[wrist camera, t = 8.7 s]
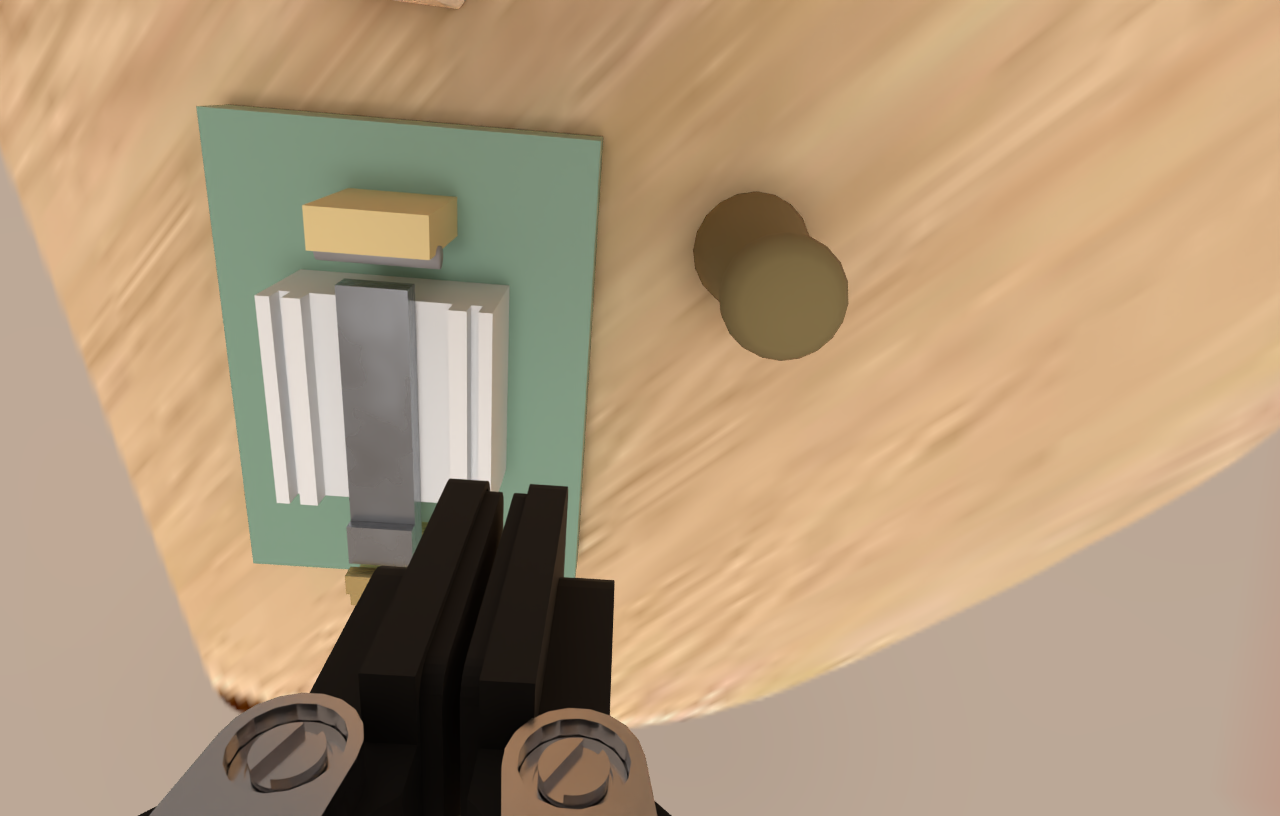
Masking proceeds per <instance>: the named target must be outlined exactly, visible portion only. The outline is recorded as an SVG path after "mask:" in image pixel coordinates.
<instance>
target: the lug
mask: <svg viewBox="0 0 1280 816" xmlns="http://www.w3.org/2000/svg"><path fill="white" fill-rule="evenodd" d="M427 524H428V522H422V535H423V533H424V530H425V528H426V526H427ZM379 566H382V565H366V564H361V565H360V567H350V568H349V570H348V572H347V574H346V575H345V583H346V594H350V597H351V605H356V604H357V602H358V601H359V599H360V597H361V595H362V593H363V591H364V589H365V587H366V585H367V584H368V582H369V580H370V578H371V576H372V574H373V573H374V571H375V570H376V568H377V567H379Z"/></svg>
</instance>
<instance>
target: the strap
mask: <svg viewBox="0 0 1280 816" xmlns="http://www.w3.org/2000/svg"><path fill="white" fill-rule="evenodd" d="M335 297H336V312H337V327H338V341H339V356H340V371H341V385H342V400H343V415H344V429H345V444H346V459H347V474H348V488H349V503H350V518H351V521H350V522H349V524H348V525H347V527H346V528H347V543H348V557H349V563H350V564H366V565H382V566H397V567H408V565H409V563H410V561H411V558H412V556H413V554H414V552H415V550H416V548H417V546H418V543H419V541H420V539H421V537H422V521H421V486H420V451H419V416H418V381H417V345H416V310H415V284H411V283H398V282H386V281H373V280H360V279H347V278H344V279H343V280H341V281H340V282H338V283H337V284H335Z"/></svg>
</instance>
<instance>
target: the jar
mask: <svg viewBox="0 0 1280 816" xmlns="http://www.w3.org/2000/svg"><path fill="white" fill-rule="evenodd" d="M394 1H401V2H409V3H416V4H423V5H431V6H438V7H445V8H452V9H458V8H460V7H461V6H462V4H463V3H464V1H465V0H394Z"/></svg>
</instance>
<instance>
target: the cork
mask: <svg viewBox="0 0 1280 816" xmlns="http://www.w3.org/2000/svg"><path fill="white" fill-rule="evenodd" d="M693 252H694V262H695V269H696V271H697V273H698V276H699V278H700V280H701V282H702V284H703V285H704V287H705V288H706V289H707V290H708V291H709V292H710V293H711V294H712V295H713V296H714V297H715V298H716V299H717V300H718V301H719V302H720V310H721V315H722V318H723V320H724V322H725V324H726V326H727V329H728V331H729V333H730V334H731V336H732V337H733V338H734V339H735V340H736V341H737V342H738V343H739V344H740V345H741V346H742V347H743V348H745V349H747V350H749V351H751V352H752V353H754V354H756V355H758V356H760V357H762V358H768V359H773V360H779V361H783V360H791V359H799V358H802V357H804V356H806V355H809V354H811V353H813V352H815V351H817V350H819V349H820V348H821V347H822V346H823V345H825V344H826V343H827V342H828V341H829V340H831V339H832V338H833V336H834V335H835V333H836V332H837V330H838V329H839V327H840V326H841V324H842V323H843V320H844V317H845V313H846V310H847V306H848V280H847V278H846V275H845V273H844V270H843V267H842V265H841V262H840V261H839V260H838V259H837V258H836V256H835V255H834V254H833V253H832V252H831V251H830V249H829V248H828V247H827V246H825V245H824V244H822V243H820V242H819V241H817V240H815V239H813V238H812V237H810V236H809V234H808V231H807V229H806V226H805V223H804V221H803V218H802V217H801V216H800V215H799V213H798V212H797V211H796V210H795V209H794V208H793V206H792V205H791V204H789V203H788V202H786V201H784V200H782V199H781V198H779V197H777V196H776V195H772V194H767V193H761V192H750V193H742V194H737V195H735V196H733V197H731V198H729V199H727V200H724V201H722V202H720V203H719V204H718V205H717V206H716V207H715V208H714V209H713V210H712V211H711V212H710V213H709V214H708V215H706V217H705V219H704V221H703V223H702V224H701V226H700V228H699V230H698V231H697V235H696V240H695V244H694V249H693Z"/></svg>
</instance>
